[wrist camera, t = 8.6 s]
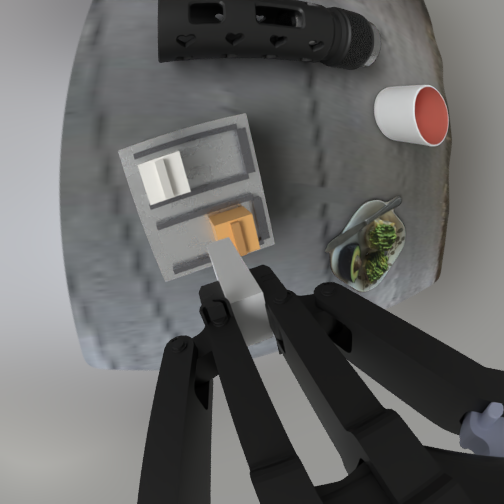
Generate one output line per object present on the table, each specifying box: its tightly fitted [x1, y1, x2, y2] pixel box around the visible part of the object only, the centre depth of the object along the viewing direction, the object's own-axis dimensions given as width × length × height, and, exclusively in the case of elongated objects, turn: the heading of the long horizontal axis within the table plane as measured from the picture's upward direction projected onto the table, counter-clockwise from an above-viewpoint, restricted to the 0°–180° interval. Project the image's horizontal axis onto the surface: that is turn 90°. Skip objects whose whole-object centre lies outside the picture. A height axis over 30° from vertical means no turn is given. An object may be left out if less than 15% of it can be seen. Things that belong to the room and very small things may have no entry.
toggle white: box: [138, 150, 191, 205], centre depth 26 cm, size 4×4×4 cm
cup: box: [374, 85, 449, 146], centre depth 37 cm, size 10×10×10 cm
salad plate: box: [325, 196, 405, 292], centre depth 48 cm, size 19×18×5 cm
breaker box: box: [118, 113, 275, 282], centre depth 33 cm, size 14×16×9 cm
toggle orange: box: [209, 206, 260, 256], centre depth 30 cm, size 4×4×4 cm
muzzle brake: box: [158, 0, 381, 70], centre depth 26 cm, size 10×28×10 cm, turn 93°
